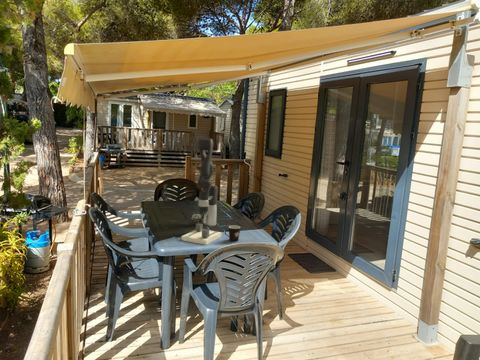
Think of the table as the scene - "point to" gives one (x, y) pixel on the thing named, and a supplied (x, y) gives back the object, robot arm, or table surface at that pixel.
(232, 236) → the coffee mug
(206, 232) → the slider
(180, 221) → the table surface
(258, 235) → the table surface
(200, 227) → the slider
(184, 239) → the switch panel
